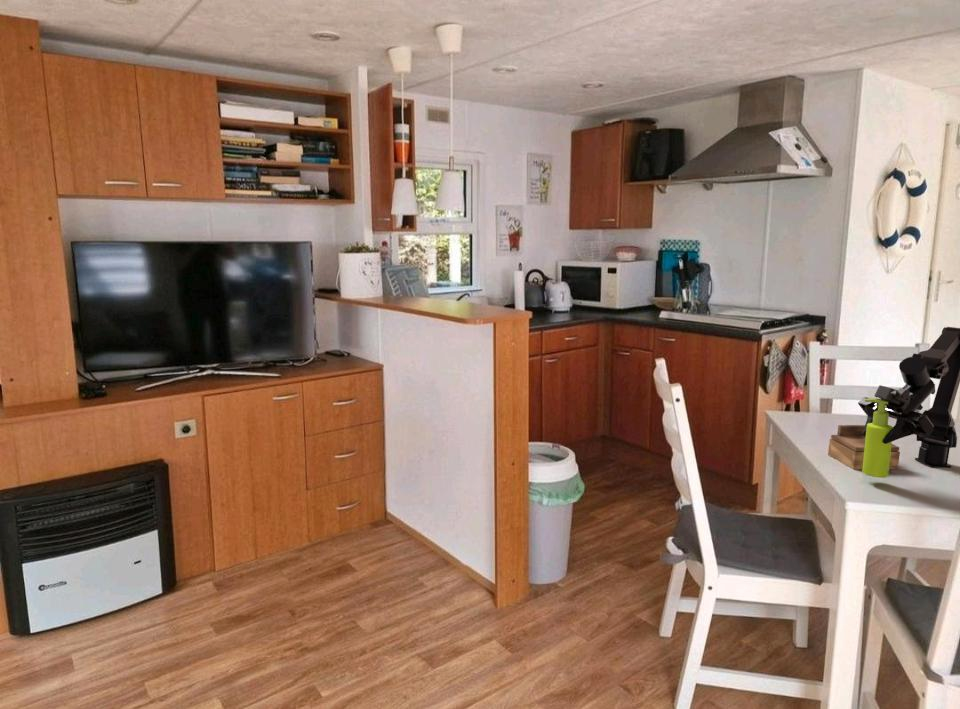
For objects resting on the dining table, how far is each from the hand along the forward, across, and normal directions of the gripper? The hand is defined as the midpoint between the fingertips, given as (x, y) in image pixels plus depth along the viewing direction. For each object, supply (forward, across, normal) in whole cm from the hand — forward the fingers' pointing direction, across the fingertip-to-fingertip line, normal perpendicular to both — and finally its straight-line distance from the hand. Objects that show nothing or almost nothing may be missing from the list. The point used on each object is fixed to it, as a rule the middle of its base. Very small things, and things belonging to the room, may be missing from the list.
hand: (873, 439), depth 167 cm
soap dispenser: (+6, 0, +8) cm, 10 cm away
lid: (-4, -14, +14) cm, 20 cm away
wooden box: (0, -14, +18) cm, 22 cm away
